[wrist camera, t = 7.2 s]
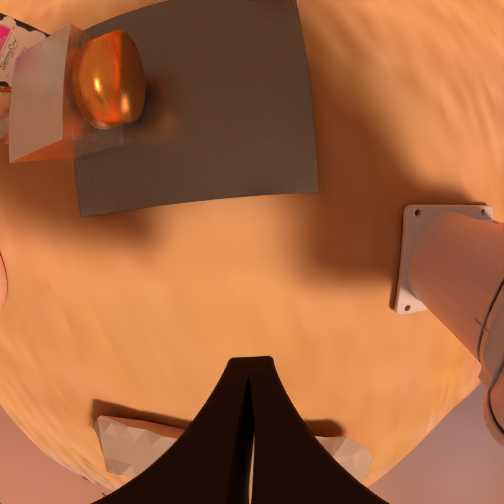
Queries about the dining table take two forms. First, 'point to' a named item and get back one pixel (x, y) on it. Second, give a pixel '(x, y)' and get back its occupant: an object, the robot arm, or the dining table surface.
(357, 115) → the dining table surface
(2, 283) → the fruit juice
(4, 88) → the candy bar box
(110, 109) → the shaft
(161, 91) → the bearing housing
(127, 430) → the food container
